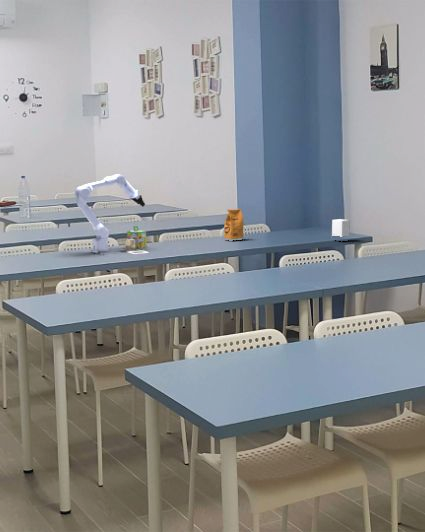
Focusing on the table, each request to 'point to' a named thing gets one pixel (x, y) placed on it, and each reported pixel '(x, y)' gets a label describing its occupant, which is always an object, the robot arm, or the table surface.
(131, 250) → the rail plate
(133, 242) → the beech block
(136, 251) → the parts tray
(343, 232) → the supplement box
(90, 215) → the robot arm
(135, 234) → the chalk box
